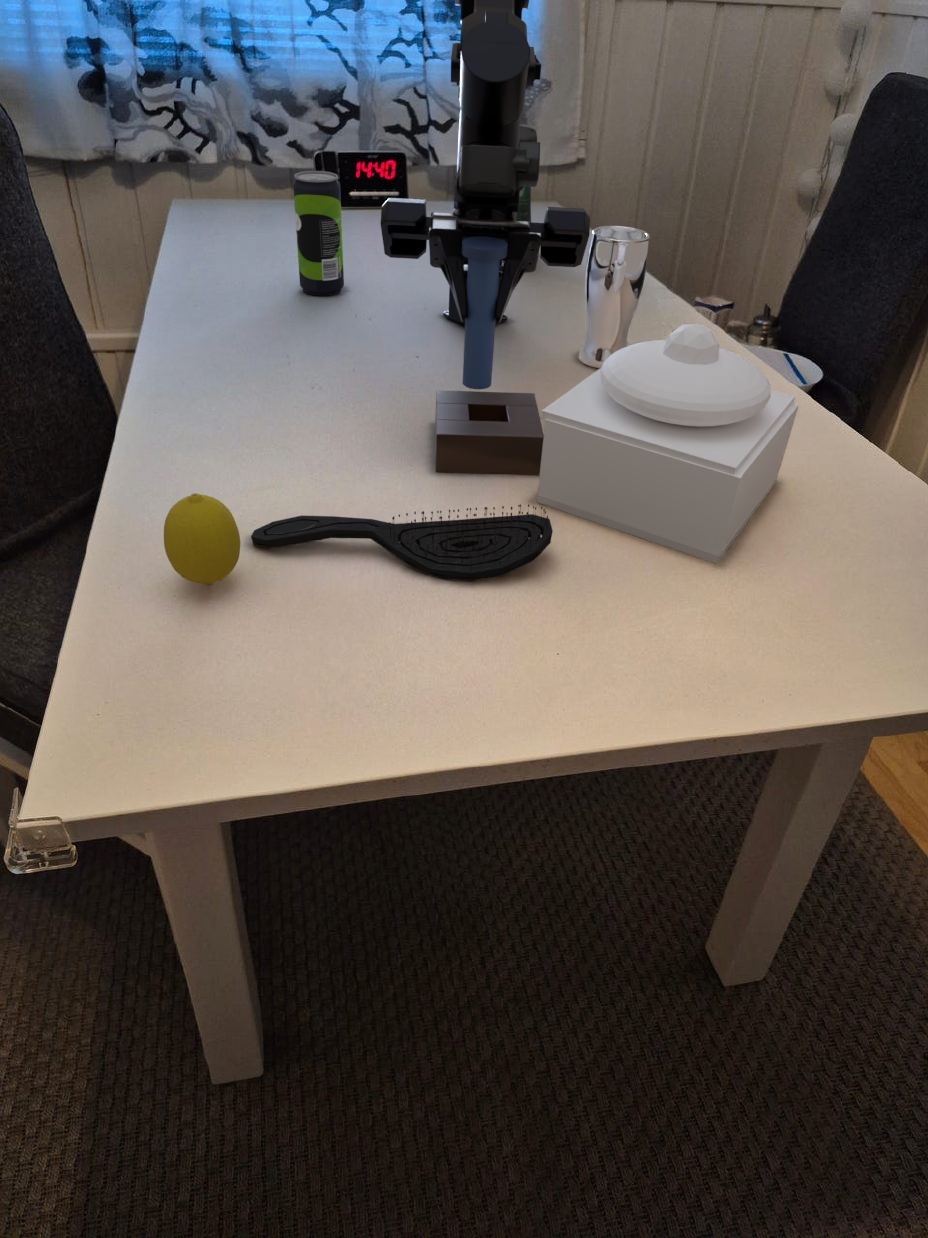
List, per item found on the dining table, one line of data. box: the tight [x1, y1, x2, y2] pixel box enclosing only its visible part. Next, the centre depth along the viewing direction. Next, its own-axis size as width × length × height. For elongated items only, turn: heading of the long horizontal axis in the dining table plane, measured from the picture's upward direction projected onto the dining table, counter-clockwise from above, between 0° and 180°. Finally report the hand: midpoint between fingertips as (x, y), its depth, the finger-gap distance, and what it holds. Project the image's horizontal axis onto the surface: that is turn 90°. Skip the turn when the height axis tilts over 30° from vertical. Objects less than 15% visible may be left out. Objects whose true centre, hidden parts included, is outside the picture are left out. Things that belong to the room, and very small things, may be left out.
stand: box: [434, 389, 544, 476], centre depth 88 cm, size 10×10×4 cm
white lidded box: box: [536, 323, 800, 564], centre depth 79 cm, size 18×18×16 cm
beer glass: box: [578, 225, 651, 369], centre depth 105 cm, size 7×7×15 cm
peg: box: [462, 237, 508, 390], centre depth 81 cm, size 4×4×13 cm
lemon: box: [163, 492, 241, 586], centre depth 67 cm, size 6×6×8 cm
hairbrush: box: [250, 503, 553, 582], centre depth 73 cm, size 8×4×25 cm
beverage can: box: [292, 170, 345, 297], centre depth 122 cm, size 6×6×15 cm
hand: (480, 320), depth 80 cm, fingers closed on peg, 3 cm apart
